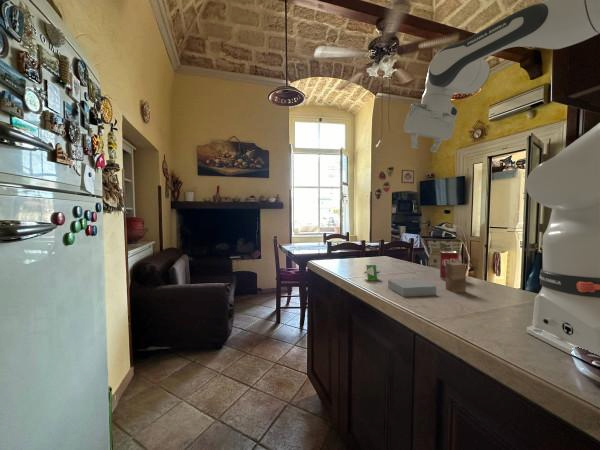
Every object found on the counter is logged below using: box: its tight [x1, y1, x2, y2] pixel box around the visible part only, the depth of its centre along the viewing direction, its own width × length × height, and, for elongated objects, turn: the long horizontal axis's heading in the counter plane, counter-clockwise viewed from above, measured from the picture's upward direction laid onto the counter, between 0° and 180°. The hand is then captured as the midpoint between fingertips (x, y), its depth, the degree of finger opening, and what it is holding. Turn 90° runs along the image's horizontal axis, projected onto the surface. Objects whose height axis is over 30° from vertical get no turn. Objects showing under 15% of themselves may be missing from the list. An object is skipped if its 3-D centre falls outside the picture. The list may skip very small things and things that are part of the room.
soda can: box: [439, 250, 460, 281], centre depth 111 cm, size 7×7×12 cm
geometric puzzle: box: [362, 264, 381, 281], centre depth 114 cm, size 7×7×8 cm
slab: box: [387, 278, 437, 297], centre depth 94 cm, size 12×12×3 cm
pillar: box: [445, 262, 467, 293], centre depth 94 cm, size 4×4×10 cm
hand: (423, 150), depth 89 cm, fingers open, 8 cm apart
